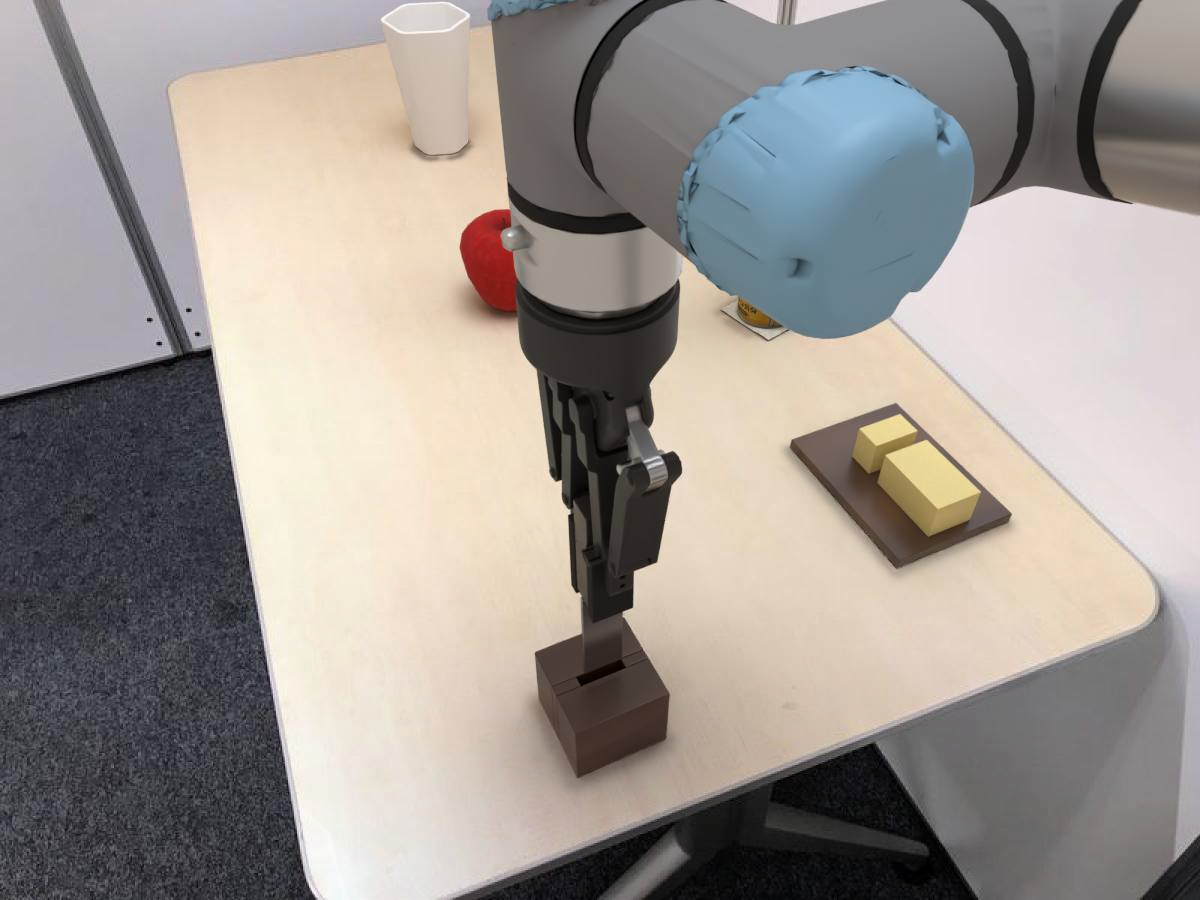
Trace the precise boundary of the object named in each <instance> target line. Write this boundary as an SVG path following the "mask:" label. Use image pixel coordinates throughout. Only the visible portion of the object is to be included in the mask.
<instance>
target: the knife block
mask: <svg viewBox="0 0 1200 900" xmlns="http://www.w3.org/2000/svg"><path fill="white" fill-rule="evenodd" d="M534 660H535V671H536V672H535V673H536V683H537V693H538V700H539V702H540V704H541V706H542V708H543V710H544V712H545V714H546V716H547V719H548V720H549V723H550V724H551V727H552V728H553V731H554V733H555V735H556V737H557V739H558V741H559V744H560V745H561V748H562V750H563V752H564V754H565V755H566V758H567V760H568V762H569V764H570V766H571V768H572V770H573V772H574V775H575V777H576V778H580V777H583V776H585V775H587V774H589V773H592V772H593V771H596V770H598V769H600V768H602V767H603V768H604V767H606V766H607V765H610V764H612V763H614V762H616V761H619V760H621V759H623V758H625V757H628V756H630V755H632V754H634V753H636V752H639V751H641V750H645V749H646V748H648V747H650V746H653V745H655V744H657V743H659V742H662V741H664V740H666V739H667V734H668V720H669V710H670V709H669V708H670V697H671V693H670V691H669V689H668V688H667V686H666V684H665V683H664V681H663V679H662V677H661V676H660V673H659V672H658V671H657V669H656V668H655V665H654V664H653V663H652V661H651V659H650V658H649V656H648V654H647V653H646V651H645V650H644V648H643V646H642V644H641V643H640V641H639V639H638V638H637V635H636V634H635V633H634V631H633V629H632V627H631V625H630V624H629V622H628V620H627V619H626V618H625V617H624V616H623V635H622V659H620V660H617V661H615V662H612V663H610V664H608V665H605V666H603V667H600V668H598V669H595V670H593V671H590V672H588V673H586V674H585V673H584V671H583V653H582V633H579V634H577V635H574V636H572V637H569V638H567V639H565V640H561V641H558V642H556V643H554V644H551V645H548V646H545V647H544V648H541V649H539V650H536V651H535V652H534Z"/></svg>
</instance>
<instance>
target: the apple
mask: <svg viewBox="0 0 1200 900" xmlns="http://www.w3.org/2000/svg"><path fill="white" fill-rule="evenodd" d="M510 227H511V214H510V208H503V209H502V208H501V209H500V208H499V209H494V210H490V211H486V212H484V213H482V214H480V215H479V216H477V217H474V219H473V220H471V221H470V222H469V223H468V224H467V225H466V227H465V228H464V230H463V231H462V232H461V236H460V242H459V251H460V256H461V259H462V262H463V263H462V264H463V266H464V269H465V272H466V275H467V278H468V280H469V281H470V283H471V284H472V286H473V288H474V289H475V291H476V293H477V294H478V296H479V297H480V298H481V299H482V301H483V302H484V303H485V304H487V305H489V306H491V307H493V308H495V309H497V310H498V311H501V312H502V311H503V312H507V313H512V312H517V306H516V294H515V285H516V281H517V276H516V272H515V268H514V257H513V251H509V250H507V249H505V248H504V247H503V245H502V239H501V236H500V235H501V233H502V231H503V230H504V229H507V228H510Z"/></svg>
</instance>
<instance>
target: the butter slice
mask: <svg viewBox="0 0 1200 900" xmlns="http://www.w3.org/2000/svg"><path fill="white" fill-rule="evenodd" d="M917 432H918V431H917V430H916V429H915V428H914V427H913V426H912V425H911V424H910V423H909V422H908V421H907V420H906V419H905V418H904V417H903V416H902V415H901V414H899V415H896V416H893V417H890V418H888V419H885V420H882V421H879V422H876V423H874V424H871V425H868V426H865V427H862V428H860V429H859V432H858V436H857V440H856V444H855V448H854V452H853V458H854V459H855V460H856V461H857V462H858V463H859V464H860V465H861V466H862V467H863V468H864V469H865V470H866V471H867V473H868V474H870V473H873V472H875V471H878V470H881V468H882V465H883V461H884V458H885V455H887V454H889V453H892V452H895V451H898V450H900V449H903V448H906V447H908V446H911V445H914V441H915V438H916V435H917Z"/></svg>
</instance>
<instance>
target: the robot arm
mask: <svg viewBox="0 0 1200 900" xmlns="http://www.w3.org/2000/svg"><path fill="white" fill-rule="evenodd" d="M486 10H487V11H486V12H487V19H488V21H490V25H491V32H492V33H491V35H492V45H493V53H494V54H493V55H494V64H495V73H496V85H497V94H498V96H497V97H498V103H499V114H500V124H501V126H500V127H501V135H502V145H503V154H504V155H503V156H504V164H505V172H506V184H507V196H508V206H509V208H508V209H510V214H511V227H510V228H507V229H504V230H503V231H502V233H501V235H500V236H501V239H502V245H503V247H504V248H505V249H507V250H509V251H513V257H514V268H515V272H516V276H517V281H516V285H515V294H516V306H517V311H516V318H517V328H518V340H519V345H520V348H521V351H522V353H523V355H524V357H525V359H526V360H527V361H528V363H529V364H530V365H531V366H532V367H533V368H534V369H535V370H536V378H537V383H538V392H539V393H538V394H539V399H540V409H541V415H542V422H543V423H542V424H543V431H544V439H545V446H546V453H547V461H548V468H549V469H548V472H549V475H550V477H551V479H553V481H554V482H555V483H557V482H561V493H560V494H561V495H560V496H561V500H562V501H561V502H562V503H563V505H564V506H565V508H566V509H567V510H569V512H570V514H567V523H568V524H567V525H568V545H569V546H568V547H569V567H570V586H571V587H572V589H573V591H574V592H575V594H580V592H579V591H578V589H577V577H576V553H575V530H574V506H573V499H576V498H578V497H581V496H584V495H587V494H590V504H591V518H592V531H593V543H590V544H587V545H586V548H585V549H582V550H581V552H582V556H583V558H584V561H585V563H586V565H587V596H588V615H589V617H590V619H591V620H592V622H593V623H596V622H598V621H601V620H604V619H606V618H609V617H611V616H614V615H616V614H619V613H621V612H623V613H624V612H626V611H629V610H631V609H633V608H634V593H635V592H634V590H635V589H634V588H635V587H634V586H635V572H637V571H639V570H641V569H644V568H646V567H649V566H652V565H655V564H657V563H658V561H659V557H660V551H661V545H662V539H663V536H664V535H663V534H664V529H665V523H666V519H667V513H668V508H669V503H670V498H671V492H672V487H673V485H674V484H675V483H676V482H677V480H678V479H679V478H680V477H681V476H682V474H683V466H682V461H681V459H680V456H679V455H678V454H677V452H676V451H674V450H671V451H668V452H665V450H663V449H658V447H657V445H656V442H655V441H654V437H653V436H652V434H651V431H650V429H651V427H652V425H653V423H654V419H655V409H654V404H653V399H652V389H651V383H652V382H653V380H654V378H655V377H656V376H657V375H658V373H659V372H660V371H661V370H662V368H663V367H664V366H665V365H666V364H667V363H668V361H669V360H670V359H671V357H672V355H673V353H674V351H675V350H676V347H677V343H678V335H679V334H678V333H679V319H680V318H679V317H680V298H681V282H680V276H681V274H682V272H683V261H684V260H683V257H684V258H685V259H686V260H688V261H689V262H690V263H691V264H693V266H695V268H696V270H697V272H698V273H699V274H700V275H703V276H704V277H705V278H706V280H707V281H709V282H710V283H712V284H713V285H714V286H715V287H716V288H717V289H718V290H720V291H722V292H725V293H727V294H728V295H729V296H730V297H733V296H736V297H737V298H738V297H740V298H741V299H743V300H744V301H746V302H747V303H749V304H750V305H752V306H754V307H755V308H757V309H758V310H760V311H761V312H763V313H764V314H766V315H767V316H769V317H770V318H772V319H773V320H775V321H776V322H778V323H779V324H781V325H782V326H784V327H785V328H787V329H788V331H791V332H793V333H795V334H796V335H797V334H798V335H800V336H803V337H806V338H812V339H821V340H831V339H832V340H833V339H835V340H836V339H841V338H846V337H851V336H854V335H858V334H860V333H863V332H865V331H867V330H870V329H872V328H874V327H876V326H877V325H879V324H881V323H883V322H884V321H887V320H888V319H889V318H891V317H892V316H893V315H894V313H895V312H896V310H897V308H898V306H899V305H900V303H901V301H902V300H903V299H904V298H905V297H906V296H907V295H908V294H909V293H918V292H920V291H922V290H923V288H924V287H925V286H927V284H928V283H929V282H930V281H931V279H932V278H933V277H934V276H935V275H936V273H937V272H938V270H939V269H940V268H941V266H942V265H943V263H944V261H945V260H946V258H947V257H948V255H949V254H950V252H951V251H952V249H953V247H954V246H955V244H956V242H957V240H958V238H959V236H960V233H961V231H962V229H963V226H964V224H965V221H966V218H967V215H968V213H969V210H970V208H973V207H976V206H978V205H982V204H984V203H986V202H989V201H992V200H994V199H997V198H999V197H1003V196H1004V195H1007V194H1010V193H1012V192H1014V191H1017V190H1020V189H1023V188H1032V187H1040V188H1049V189H1054V190H1059V191H1064V192H1068V193H1072V194H1076V195H1077V194H1078V195H1081V196H1087V197H1091V198H1096V199H1102V200H1107V201H1111V202H1115V203H1116V202H1118V203H1123V204H1128V205H1139V206H1144V207H1147V208H1153V209H1158V210H1163V211H1167V212H1172V213H1177V214H1182V215H1186V216H1191V217H1196V218H1200V0H882V1H878V2H874V3H871V4H867V5H862V6H859V7H856V8H852V9H848V10H844V11H841V12H837V13H833V14H830V15H825V16H823V17H819V18H815V19H812V20H809V21H805V22H801V23H797V24H781V23H774V22H771V21H769V20H766V19H765V18H762V17H761V16H759V15H757V14H754V13H752V12H751V11H747V10H746V9H744V8H741V7H739V6H737V5H735V4H733V3H730V2H728V1H727V0H490V4H489V5H488V7H487V9H486Z"/></svg>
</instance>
